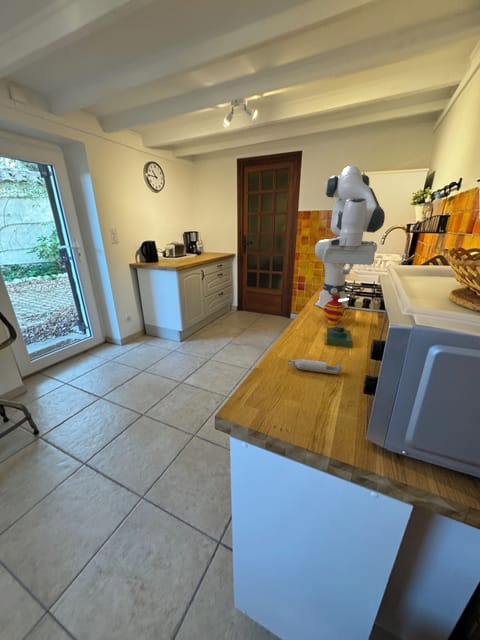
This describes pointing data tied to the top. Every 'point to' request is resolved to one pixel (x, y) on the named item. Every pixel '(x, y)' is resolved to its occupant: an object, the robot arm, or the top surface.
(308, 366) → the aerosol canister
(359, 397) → the top surface
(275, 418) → the top surface
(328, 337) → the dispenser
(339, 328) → the pump
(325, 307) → the potion bottle
